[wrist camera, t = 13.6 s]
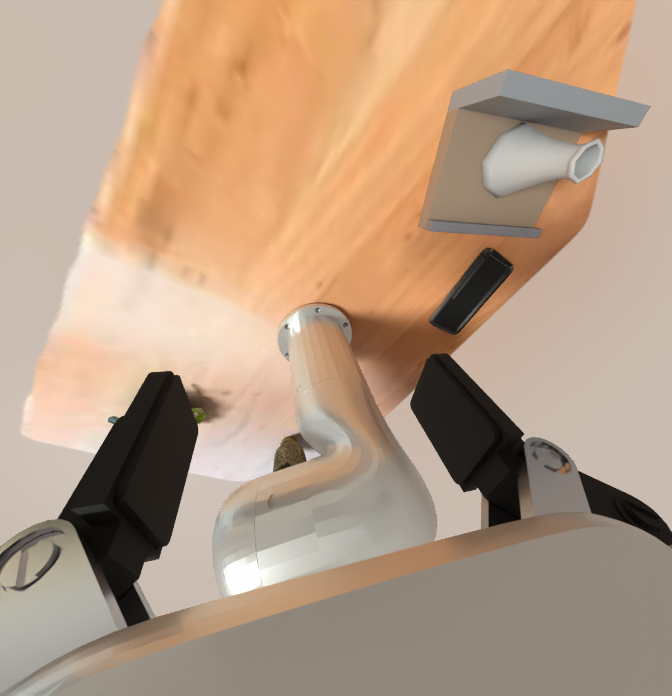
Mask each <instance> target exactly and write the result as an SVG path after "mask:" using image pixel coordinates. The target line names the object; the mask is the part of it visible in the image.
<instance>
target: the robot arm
mask: <svg viewBox="0 0 672 696" xmlns="http://www.w3.org/2000/svg"><path fill="white" fill-rule="evenodd" d="M316 308H318V309H316ZM286 324H288V325H286ZM351 340H352V328H351V325H350V322H349V320H348V319H347V317H346V316H345V315H344V313H343V312H342V311H340V310H339V309H337V308H336V307H333V306H331V305H327V304H323V303H313V304H307V305H304V306H301V307H299V308H297V309H295V310H293V311H292V312H291V313H290V314H288V315H287V316H286V318H285V319H284V320H283V321H282V323H281V325H280V327H279V331H278V346H279V349H280V351H281V353H282V355H283V356H284V357H285V358H286V359H287V360H288V361H289V362H290V369H291V378H292V387H293V396H294V405H295V414H296V421H297V426H298V429H299V431H300V433H301V435H302V436H303V438H304V439H305V441H306V442H307V443H308V444H309V445H310V446H311V447H312V448H313V449H314V450H316V451H317V452H318V453H319V454H321V456H319V457H316V458H313V459H311V460H309V461H306V462H303V463H300V464H297V465H294V466H291V467H288V468H285V469H282V470H279V471H276V472H273V473H270V474H267V475H264V476H261V477H259V478H256V479H254V480H251V481H249V482H247V483H245V484H243V485H241V486H240V487H238V488H237V489H236V490H235V491H233V492H232V493H231V494H230V495H229V497H228V498H227V499H226V500H225V502H224V503H223V505H222V507H221V509H220V511H219V513H218V516H217V518H216V522H215V527H214V532H213V542H212V544H213V545H212V546H213V564H214V571H215V576H216V581H217V584H218V588H219V591H220V594H221V597H222V598H221V599H218V600H214V601H211V602H208V603H204V604H201V605H198V606H194V607H190V608H187V609H183V610H180V611H177V612H173V613H170V614H166V615H163V616H159V617H155V615H154V613H153V612H152V610H151V607H150V605H149V604H148V602H147V600H146V598H145V596H144V594H143V592H142V590H141V588H140V586H139V584H138V582H137V580H138V579H139V577H140V574H141V570H142V567H143V564H144V562H147V561H152V560H156V559H159V557H160V553H161V550H162V547H163V546H167V545H168V543H169V541H170V538H171V535H172V531H173V528H174V524H175V520H176V516H177V513H178V509H179V505H180V501H181V497H182V493H183V490H184V486H185V482H186V478H187V474H188V470H189V467H190V463H191V459H192V455H193V451H194V447H195V444H196V440H197V436H198V425H197V422H196V419H195V417H194V414H193V411H192V409H191V406H190V403H189V400H188V398H187V395H186V392H185V389H184V387H183V384H182V381H181V378H180V376H179V375H174V374H173V372H172V371H165V372H151V373H149V374H148V376H147V377H146V379H145V381H144V383H143V384H142V386H141V388H140V389H139V391H138V393H137V395H136V396H135V398H134V400H133V402H132V403H131V405H130V407H129V409H128V410H127V412H126V414H125V416H122V417H120V418H119V419H118V420H117V421H116V422H115V423H114V425H113V427H112V428H111V430H110V432H109V433H108V435H107V437H106V439H105V440H104V442H103V444H102V445H101V447H100V449H99V450H98V452H97V454H96V455H95V457H94V459H93V461H92V462H91V464H90V466H89V467H88V469H87V471H86V472H85V474H84V475H83V477H82V479H81V480H80V482H79V484H78V485H77V488H76V489H75V491H74V492H73V494H72V496H71V497H70V499H69V501H68V502H67V504H66V506H65V507H64V509H63V511H62V513H61V514H60V516H59V517H58V519H55V520H47V521H44V522H41V523H38V524H35V525H33V526H31V527H29V528H27V529H25V530H23V531H22V532H20V533H18V534H16V535H15V536H14V537H12V538H11V539H10V540H8V541H7V542H6V543H4V544H3V545H1V546H0V696H672V532H671V531H670V529H669V527H668V526H667V524H666V523H665V522H664V521H663V520H662V518H661V517H660V516H659V515H658V514H657V513H656V512H655V511H654V510H653V509H651V508H650V507H649V506H647V505H646V504H644V503H643V502H642V501H640V500H638V499H637V498H635V497H633V496H631V495H629V494H627V493H625V492H623V491H620V490H618V489H616V488H614V487H612V486H610V485H607V484H605V483H603V482H601V481H599V480H597V479H594V478H592V477H590V476H588V475H586V474H584V473H582V472H580V471H578V470H577V467H576V465H575V463H574V461H573V460H572V459H571V458H570V457H569V455H568V454H567V453H565V452H564V451H563V450H562V449H561V448H559V447H558V446H556V445H555V444H553V443H551V442H549V441H547V440H545V439H541V438H536V437H531V438H528V439H527V440H526V441H525V442H524V441H523V440H522V439H521V437H522V436H523V435H524V433H523V432H522V431H521V430H520V429H519V428H518V427H517V426H516V425H515V424H514V422H513V421H511V419H510V418H509V417H508V416H507V415H506V414H505V413H504V412H503V411H502V410H501V409H500V408H499V407H498V406H497V405H496V404H495V403H494V402H493V401H492V399H491V398H490V397H489V396H488V395H487V394H486V393H485V392H484V391H483V390H482V389H481V388H480V387H479V386H478V385H477V384H476V383H475V382H474V381H473V380H472V379H471V378H470V377H469V375H468V374H467V373H466V372H465V371H464V370H463V369H462V368H461V367H460V366H459V365H458V364H457V363H456V362H455V361H454V360H453V359H452V358H451V357H450V356H449V355H448V354H446V353H442V354H432V355H431V356H430V358H428V359H427V361H426V363H425V366H424V368H423V371H422V374H421V376H420V379H419V381H418V384H417V386H416V389H415V392H414V394H413V397H412V399H411V403H410V404H411V409H412V411H413V412H414V414H415V416H416V418H417V419H418V421H419V423H420V424H421V426H422V428H423V429H424V431H425V432H426V435H427V436H428V438H429V440H430V441H431V443H432V445H433V446H434V448H435V449H436V451H437V453H438V455H439V457H440V458H441V460H442V462H443V463H444V465H445V467H446V468H447V470H448V472H449V473H450V475H451V477H452V479H453V480H454V481H455V482H456V483H457V484H459V485H460V487H461V488H462V490H463V492H467V491H472V490H476V489H477V488H479V490H480V492H481V493H482V503H481V529H480V530H477V531H473V532H469V533H465V534H461V535H458V536H453V537H450V538H446V539H442V540H438V541H434V539H435V537H436V531H437V516H436V511H435V506H434V503H433V500H432V497H431V495H430V493H429V491H428V489H427V486H426V485H425V482H424V480H423V479H422V477H421V476H420V474H419V472H418V471H417V469H416V467H415V466H414V464H413V463H412V462H411V460H410V459H409V457H408V456H407V454H406V453H405V451H404V450H403V449H402V447H401V446H400V445H399V443H398V441H397V440H396V438H395V437H394V435H393V433H392V432H391V430H390V428H389V427H388V425H387V423H386V421H385V419H384V418H383V416H382V414H381V412H380V410H379V408H378V406H377V404H376V402H375V399H374V397H373V395H372V393H371V391H370V388H369V386H368V384H367V382H366V380H365V377H364V375H363V373H362V371H361V369H360V366H359V364H358V362H357V360H356V358H355V356H354V353H353V351H352V349H351V347H350V344H351Z"/></svg>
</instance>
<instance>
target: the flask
mask: <svg viewBox="0 0 672 696" xmlns="http://www.w3.org/2000/svg"><path fill="white" fill-rule="evenodd" d="M604 151H605V146H604V144H603V143H602V141H601V140H600V138H597V139H594V140H592V141H590V142H589V143H587V144H572V143H567V142H562V141H559V140H557V139H555V138H553V137H551V136H549V135H547V134H545V133H543V132H541V131H539V130H538V129H536V128H534V127H532V126H531V125H529V124H527V123H525V122H521V123H520V124H518V125H516V126H515V127H513V128H511V129H509V130H508V131H506V132H504V133H503V134H501V135H500V136H499V137H498V139H497V140H496V142H495V143H494V145H493V146H492V148H491V150H490V151H489V153H488V154H487V156H486V157H485V159H484V160H483V162H482V167H483V185H484V188H485V189H486V190H487V191H488V192H489V193H491V194H492V195H493V196H494V197H495V198H496V199H498V198H500V197H503V196H506V195H508V194H511V193H514V192H516V191H519V190H521V189H524V188H527V187H530V186H533V185H536V184H539V183H542V182H546V181H552V180H558V179H570V180H571V181H572V182H573V183H575V184H578V183H579V182H581V181H583V180H585V179H587V178H589V177H590V176H591V175H592V174H593V173H594V171H595V170H596V169H597V168H598V167H599V165H600V164H601V163H602V160H603V156H604Z"/></svg>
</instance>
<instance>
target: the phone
mask: <svg viewBox="0 0 672 696" xmlns="http://www.w3.org/2000/svg"><path fill="white" fill-rule="evenodd" d="M512 271H513V265H512V264H511V263H510V262H508V261H507V260H506V259H505V258H503V257H502V256H501V255H500V254H499V253H497V252H496V251H495V250H493V249H491V248H486V249H484V250H483V251H482V252H481V253H480V255H479V256H478V257H477V258H476V260H475V261H474V262H473V263H472V265H471V266H470V267H469V269H468V270H467V271H466V272H465V274H464V275H463V276H462V277H461V279H460V280H459V281H458V283H457V284H456V285H455V286H454V288H453V289H452V290H451V291H450V293H449V294H448V295H447V296H446V298H445V299H444V300H443V302H442V303H441V304H440V305H439V307H438V308H437V309H436V310H435V312H434V313H433V314H432V316H431V317H430V319H429V322H430V323H431V324H432V325H433V326H435V327H437V328H439V329H442V330H444V331H446V332H448V333H450V334H452V335H455V334H458V333H459V332H460V331H461V330H462V329H463V327H464V326H465V325H466V324H467V323H468V322H469V321H470V319H471V318H472V317H473V316H474V315H475V314H476V313H477V312H478V310H479V309H480V308H481V307H482V306H483V305H484V304H485V302H486V301H487V300H488V299H489V298H490V297H491V296H492V294H493V293H494V292H495V291H496V290H497V289H498V288H499V286H500V285H501V284H502V283H503V282H504V281H505V280H506V278H507V277H508V276H509V275H510V274H511V273H512Z"/></svg>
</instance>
